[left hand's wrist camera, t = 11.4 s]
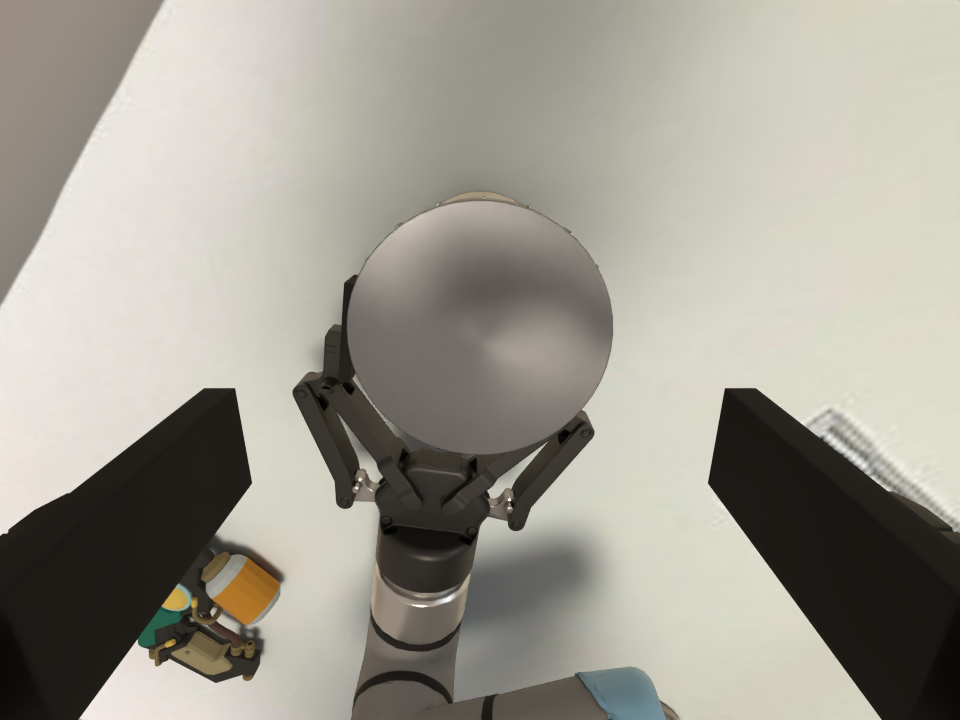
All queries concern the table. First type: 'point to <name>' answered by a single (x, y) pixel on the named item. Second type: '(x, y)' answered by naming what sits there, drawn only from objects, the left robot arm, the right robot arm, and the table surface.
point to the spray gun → (199, 591)
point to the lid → (480, 326)
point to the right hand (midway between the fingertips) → (462, 294)
